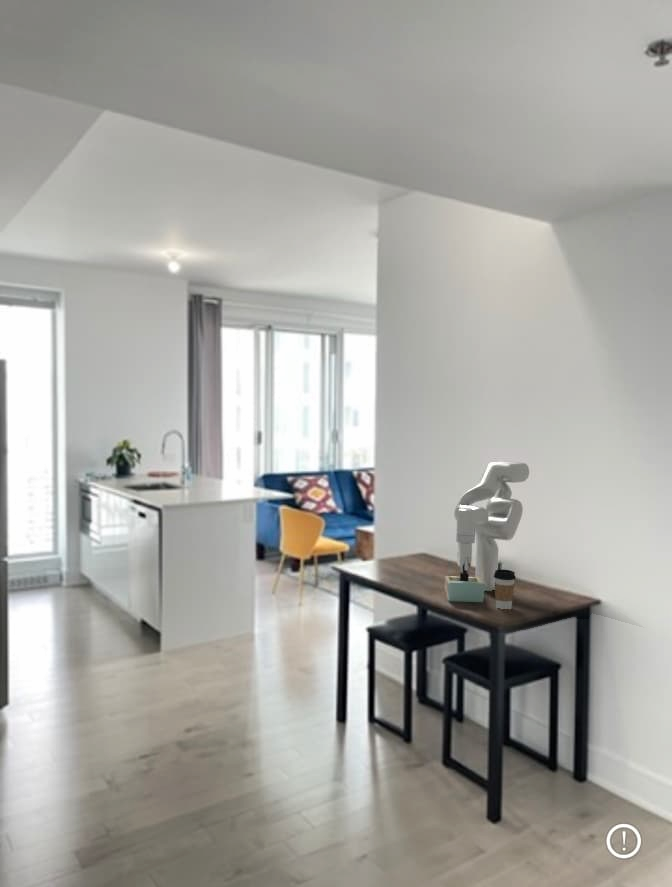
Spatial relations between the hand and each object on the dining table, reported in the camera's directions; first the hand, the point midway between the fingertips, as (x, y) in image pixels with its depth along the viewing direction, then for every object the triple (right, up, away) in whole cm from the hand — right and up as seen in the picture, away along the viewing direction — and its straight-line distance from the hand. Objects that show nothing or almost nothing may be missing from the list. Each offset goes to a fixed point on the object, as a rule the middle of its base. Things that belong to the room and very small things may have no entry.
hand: (464, 582), depth 279 cm
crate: (0, -7, +3) cm, 7 cm away
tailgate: (0, -7, -5) cm, 8 cm away
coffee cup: (+13, -8, -12) cm, 20 cm away
